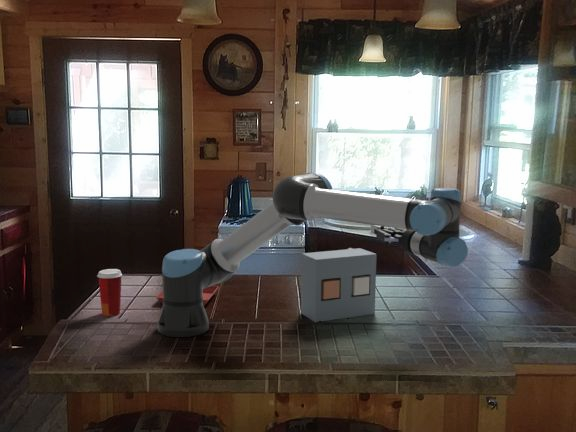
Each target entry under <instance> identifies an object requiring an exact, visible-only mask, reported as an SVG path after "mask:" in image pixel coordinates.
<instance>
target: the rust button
mask: <svg viewBox="0 0 576 432" xmlns="http://www.w3.org/2000/svg"><path fill="white" fill-rule="evenodd" d="M339 287H340V280H338V279H336V278H332V279H323V280H321V298H323V299H330V298H338V297H339Z"/></svg>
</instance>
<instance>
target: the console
mask: <svg viewBox="0 0 576 432" xmlns="http://www.w3.org/2000/svg"><path fill="white" fill-rule="evenodd" d="M377 258H378V256H377V253H374V252H373V251H369V250H366V249H363V248H361V247H359V248H352V249H348V248H346V249H337V250H325V251H315V252H304V253H303V252H302V253H301V270H300V271H301V276H300V278H301V280H300V281H301V283H300V285H301V286H300V287H301V288H300V290H301V291H300V314H302V316H304V317H306V318H308V319H309V320H311V321H312V322H313V323H319V322H318V321H321V322H327V321H332V320H334V319H335V320H339V319H341V320H342V319H347V318H353V317H354V318H355V317H362V316H368V315H369V316H370V315H375V312H376V310H375V309H376V285H377V283H376V282H377V281H376V280H377V279H376V278H377ZM359 275H366V276H368V277H369V294H362V295H352V276H359ZM332 278H336V279H338V280H340V287H339V297H338V298H330V299H323V298H321V280H323V279H332ZM335 320H334V321H335Z"/></svg>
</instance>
